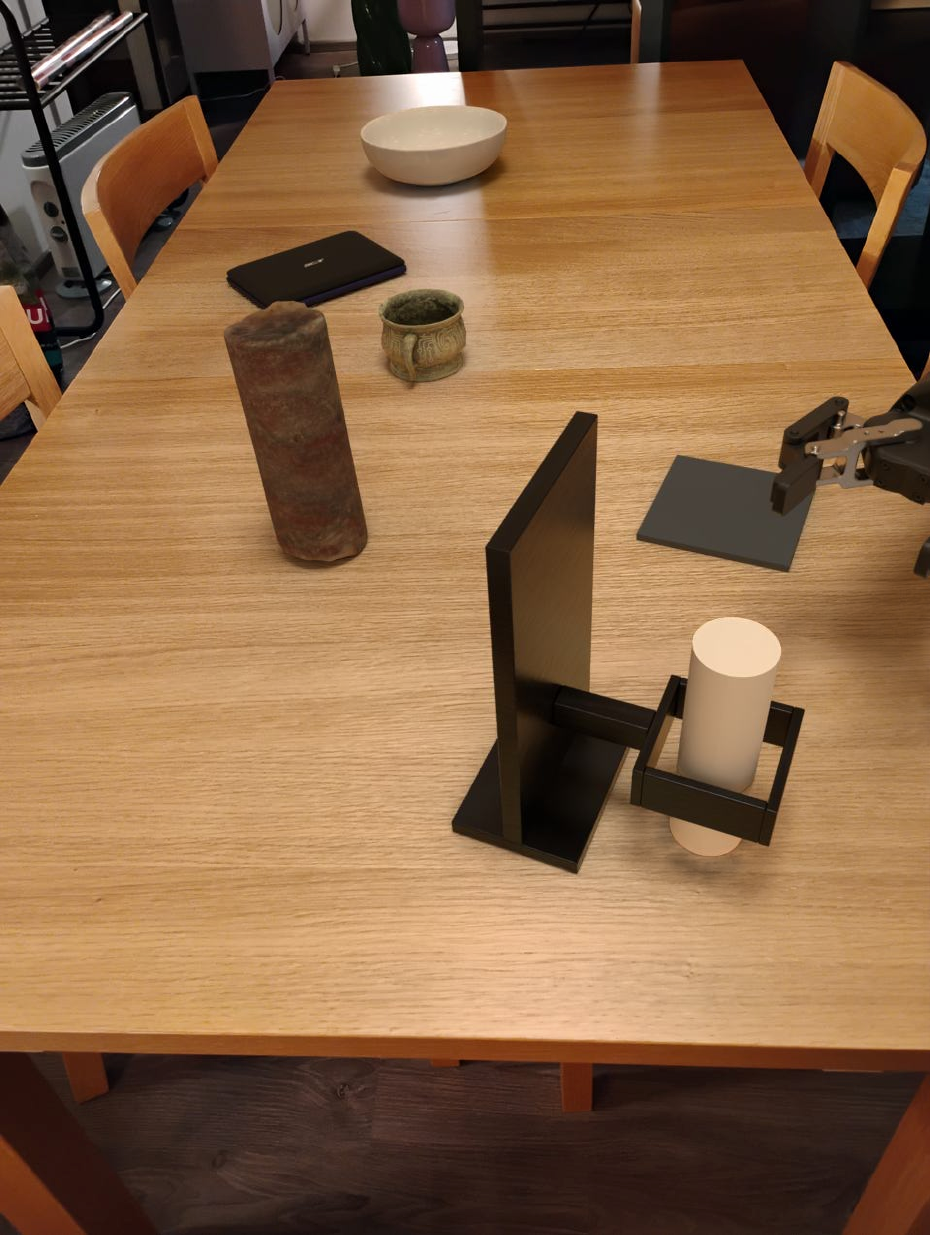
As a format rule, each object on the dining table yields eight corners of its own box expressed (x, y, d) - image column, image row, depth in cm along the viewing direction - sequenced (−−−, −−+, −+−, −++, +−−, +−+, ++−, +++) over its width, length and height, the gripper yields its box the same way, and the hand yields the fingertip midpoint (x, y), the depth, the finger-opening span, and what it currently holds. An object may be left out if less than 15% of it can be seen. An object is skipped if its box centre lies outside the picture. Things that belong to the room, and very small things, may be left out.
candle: (292, 582, 79) (236, 351, 65) (265, 533, 84) (208, 308, 70) (381, 552, 81) (345, 322, 67) (350, 505, 86) (311, 282, 72)
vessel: (454, 395, 98) (449, 336, 94) (369, 390, 100) (360, 332, 96) (479, 338, 107) (476, 282, 103) (401, 334, 109) (394, 279, 104)
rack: (790, 770, 62) (868, 460, 46) (747, 932, 54) (823, 624, 39) (525, 695, 68) (515, 399, 53) (452, 831, 60) (415, 530, 45)
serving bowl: (538, 166, 145) (537, 115, 140) (441, 213, 134) (437, 159, 129) (433, 143, 156) (429, 95, 151) (336, 184, 145) (328, 134, 140)
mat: (816, 485, 84) (817, 479, 83) (788, 572, 76) (789, 566, 75) (676, 460, 88) (677, 454, 87) (636, 539, 80) (636, 533, 79)
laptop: (419, 282, 118) (417, 265, 117) (258, 324, 113) (254, 308, 111) (369, 238, 129) (367, 223, 128) (220, 275, 123) (216, 259, 122)
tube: (736, 864, 57) (775, 685, 47) (662, 845, 59) (684, 666, 48) (748, 806, 60) (786, 626, 50) (677, 789, 61) (700, 610, 51)
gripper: (884, 320, 64) (743, 428, 56) (1123, 392, 56) (999, 529, 48) (860, 421, 69) (727, 534, 61) (1076, 500, 61) (956, 640, 53)
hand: (847, 531), depth 54 cm, fingers open, 8 cm apart
